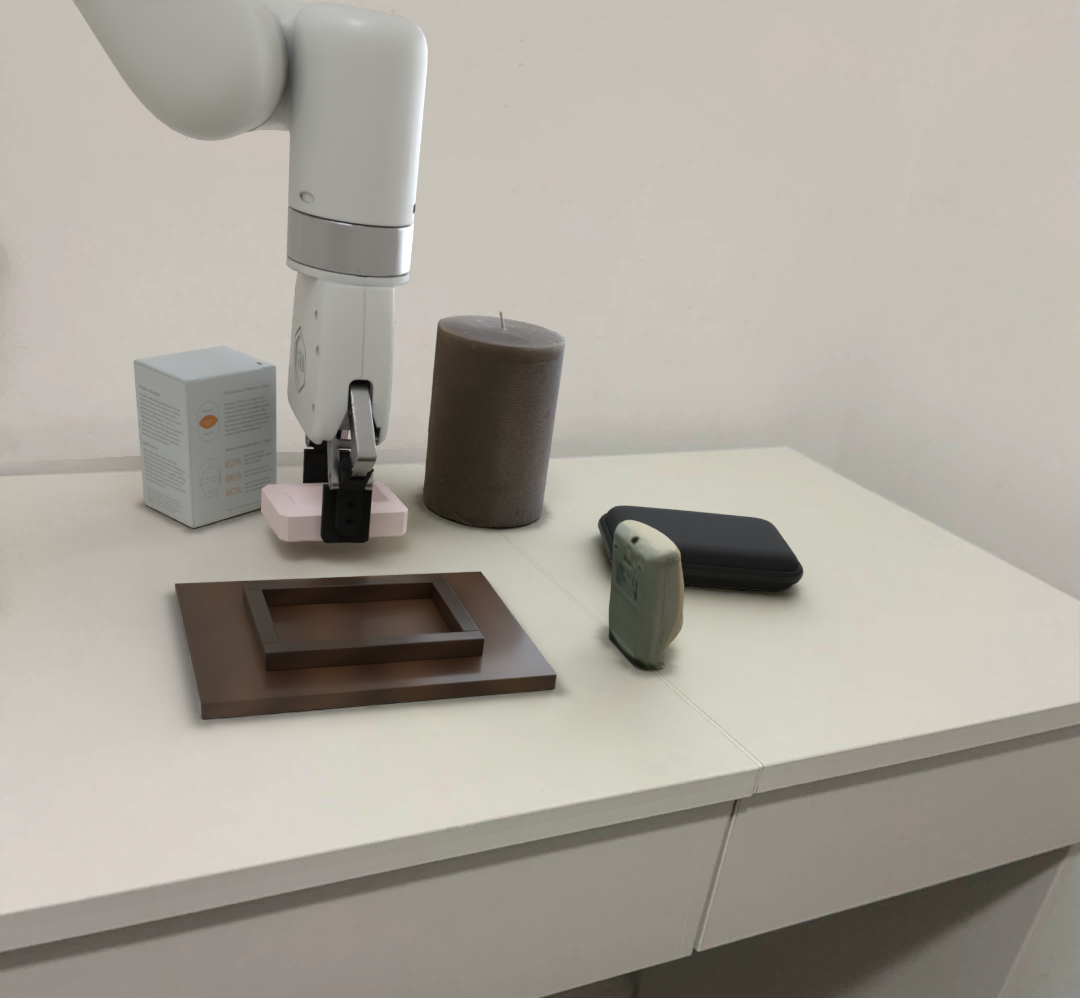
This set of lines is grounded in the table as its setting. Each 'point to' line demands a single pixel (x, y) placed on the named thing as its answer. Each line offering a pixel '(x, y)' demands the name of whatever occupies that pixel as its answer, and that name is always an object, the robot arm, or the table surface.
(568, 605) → the table surface
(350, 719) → the table surface
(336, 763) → the table surface
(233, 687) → the backing plate
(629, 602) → the grey-green rounded block
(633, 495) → the table surface
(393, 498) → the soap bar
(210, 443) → the small box
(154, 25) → the robot arm
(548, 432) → the pillar candle
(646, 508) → the carrying case
